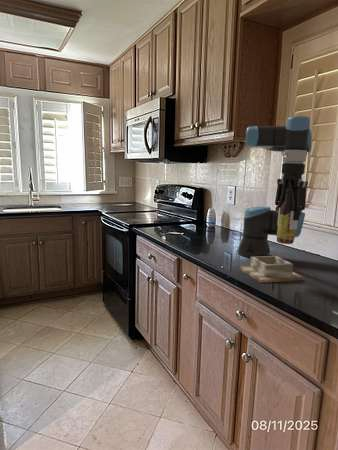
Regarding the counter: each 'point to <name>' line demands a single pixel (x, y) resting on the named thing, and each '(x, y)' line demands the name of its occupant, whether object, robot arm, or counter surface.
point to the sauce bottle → (285, 221)
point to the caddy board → (270, 269)
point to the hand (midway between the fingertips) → (286, 226)
